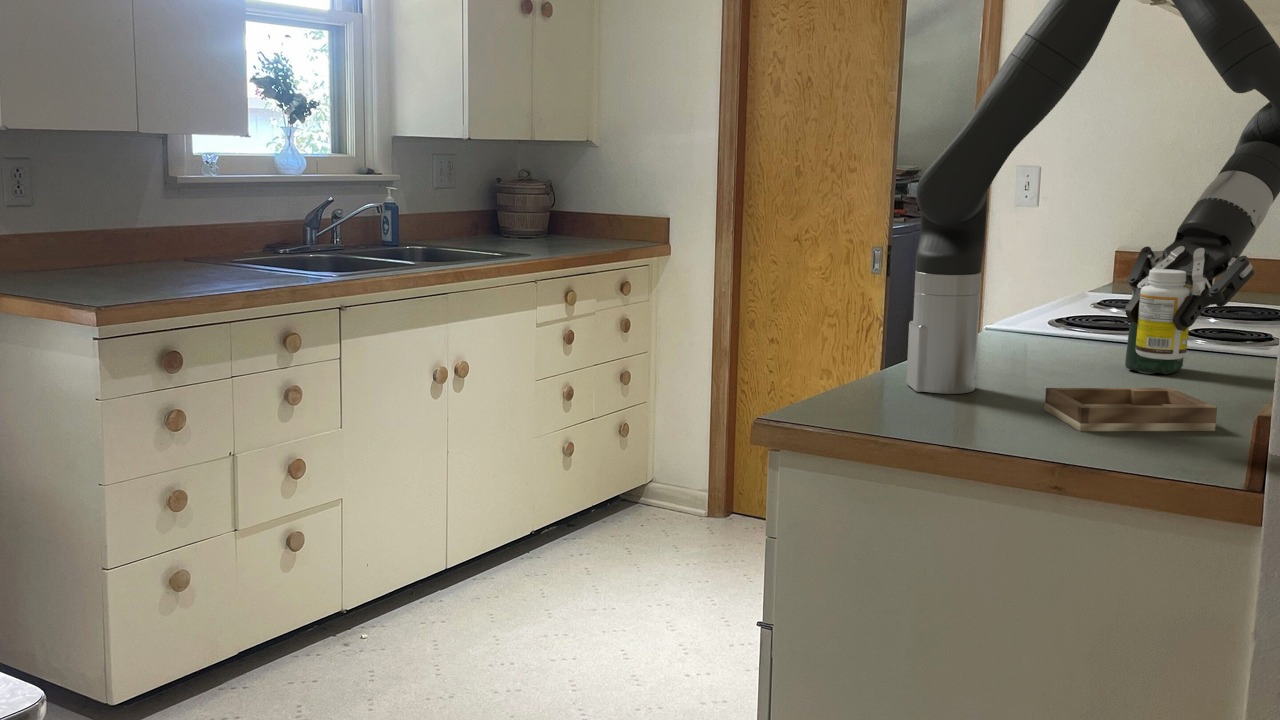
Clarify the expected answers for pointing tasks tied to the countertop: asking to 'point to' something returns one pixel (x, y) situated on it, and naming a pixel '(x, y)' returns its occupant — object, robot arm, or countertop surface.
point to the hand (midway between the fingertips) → (1154, 321)
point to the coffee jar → (1145, 363)
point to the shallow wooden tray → (1130, 409)
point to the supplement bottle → (1162, 316)
